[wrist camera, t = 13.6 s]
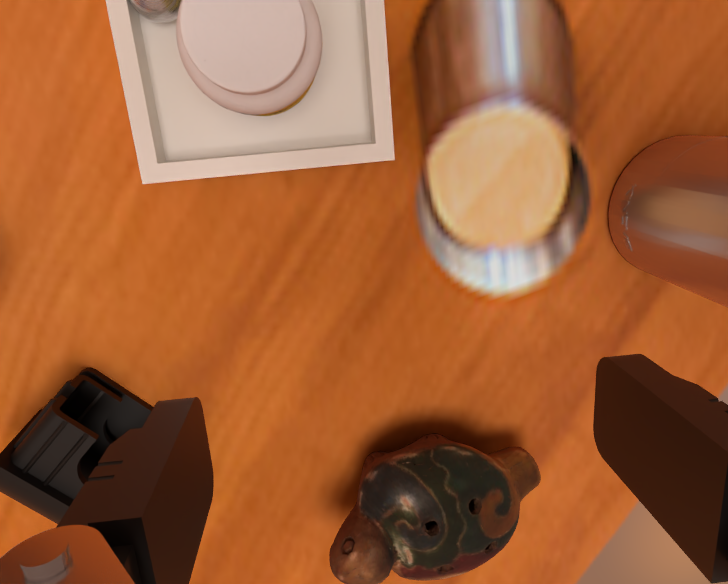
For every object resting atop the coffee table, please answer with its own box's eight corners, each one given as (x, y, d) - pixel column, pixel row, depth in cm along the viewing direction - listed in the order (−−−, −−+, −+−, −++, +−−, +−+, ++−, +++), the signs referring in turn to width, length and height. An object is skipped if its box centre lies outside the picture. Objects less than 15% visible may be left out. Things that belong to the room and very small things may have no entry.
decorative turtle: (299, 465, 40) (304, 536, 32) (488, 377, 41) (538, 426, 33) (351, 568, 43) (368, 656, 35) (530, 483, 43) (584, 551, 36)
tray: (371, -65, 31) (378, -84, 28) (387, 156, 35) (394, 160, 32) (112, -48, 30) (92, -66, 27) (156, 178, 33) (142, 184, 31)
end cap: (19, 435, 37) (-40, 500, 31) (82, 359, 36) (34, 410, 30) (146, 511, 40) (116, 585, 34) (207, 442, 39) (189, 505, 33)
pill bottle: (214, 120, 32) (171, 119, 21) (197, 1, 30) (140, -64, 20) (322, 112, 32) (332, 108, 22) (312, -6, 31) (317, -73, 20)
